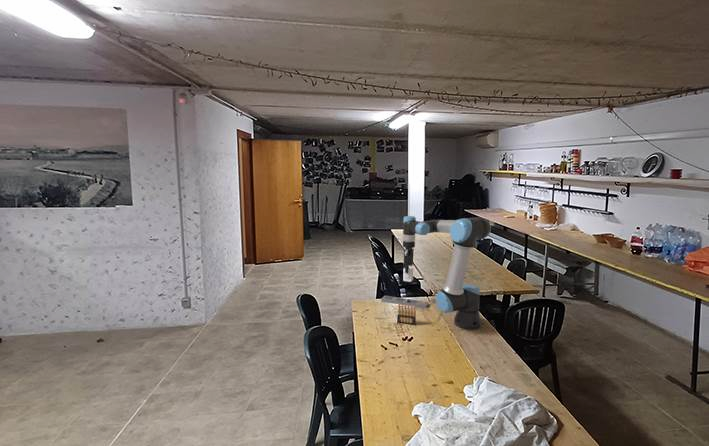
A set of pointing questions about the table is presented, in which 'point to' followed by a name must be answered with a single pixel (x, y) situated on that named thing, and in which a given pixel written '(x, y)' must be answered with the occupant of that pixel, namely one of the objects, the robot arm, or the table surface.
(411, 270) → the charger
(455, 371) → the table surface
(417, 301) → the strip
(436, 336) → the table surface
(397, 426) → the table surface
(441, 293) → the robot arm
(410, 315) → the ammunition clip
